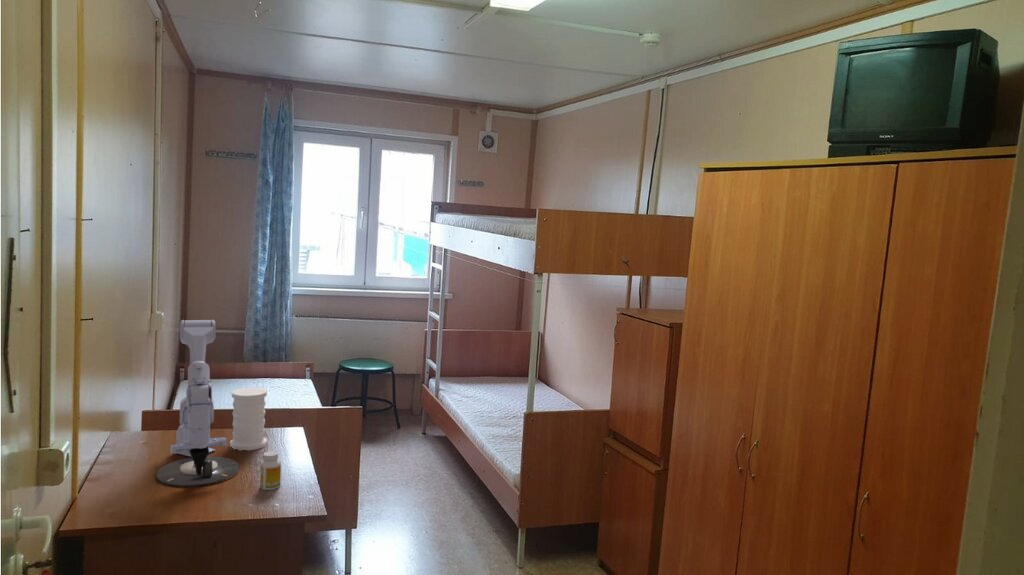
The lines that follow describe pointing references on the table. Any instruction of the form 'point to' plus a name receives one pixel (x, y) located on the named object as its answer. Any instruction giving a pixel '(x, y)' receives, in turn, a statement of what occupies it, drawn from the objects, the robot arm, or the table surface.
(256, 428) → the decorative container
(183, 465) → the dial
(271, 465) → the supplement bottle
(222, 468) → the dial plate
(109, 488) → the table surface
